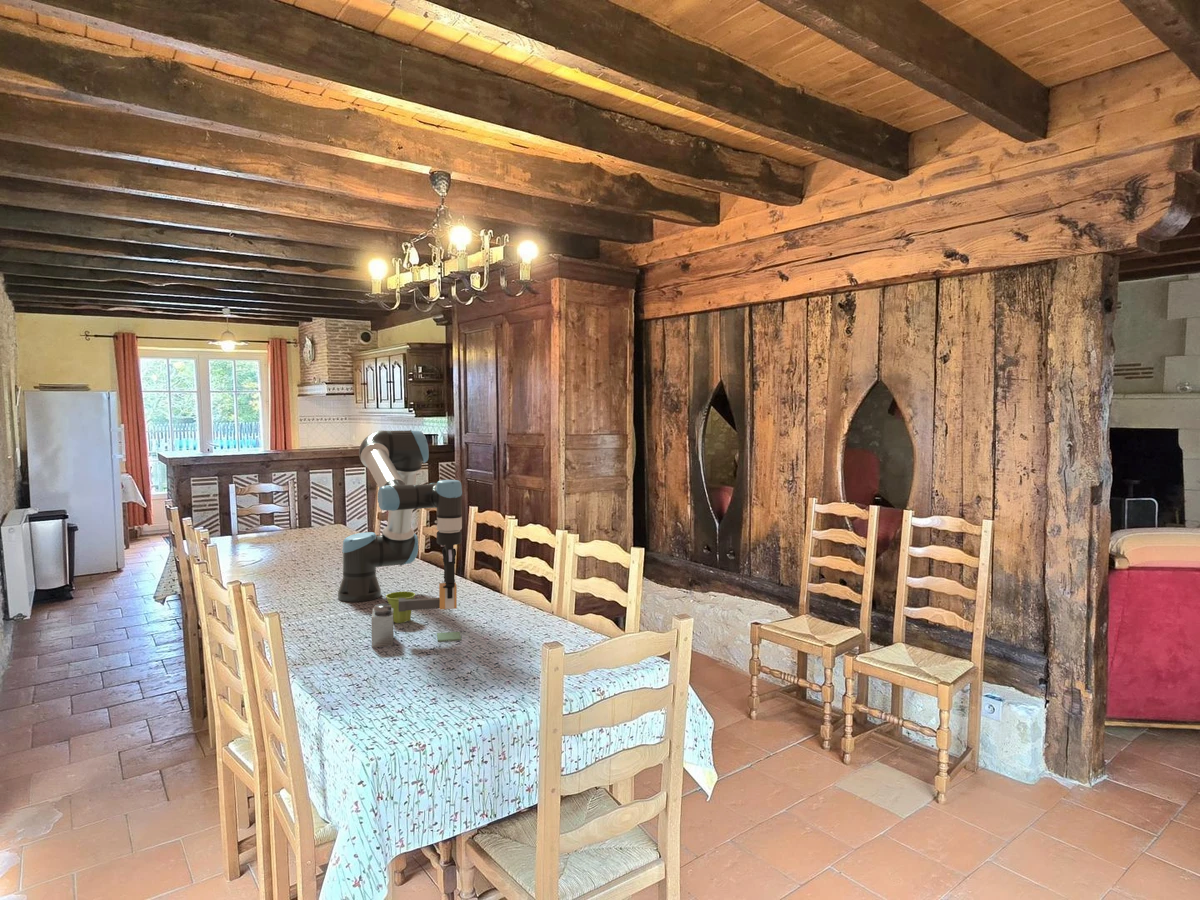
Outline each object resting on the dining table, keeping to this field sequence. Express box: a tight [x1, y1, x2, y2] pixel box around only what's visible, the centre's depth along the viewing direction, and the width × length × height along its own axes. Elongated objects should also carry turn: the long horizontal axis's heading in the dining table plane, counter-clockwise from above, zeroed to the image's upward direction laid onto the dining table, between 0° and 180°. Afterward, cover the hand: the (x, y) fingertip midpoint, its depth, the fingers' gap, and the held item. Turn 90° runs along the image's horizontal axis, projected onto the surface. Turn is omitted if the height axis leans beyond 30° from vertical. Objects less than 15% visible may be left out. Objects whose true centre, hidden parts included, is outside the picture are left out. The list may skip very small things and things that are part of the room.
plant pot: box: [385, 591, 416, 624], centre depth 234 cm, size 9×9×9 cm
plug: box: [399, 581, 458, 612], centre depth 216 cm, size 4×17×7 cm, turn 105°
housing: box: [371, 603, 394, 648], centre depth 212 cm, size 9×6×11 cm
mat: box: [436, 631, 462, 643], centre depth 218 cm, size 7×7×1 cm
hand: (449, 605), depth 217 cm, fingers closed on plug, 4 cm apart
